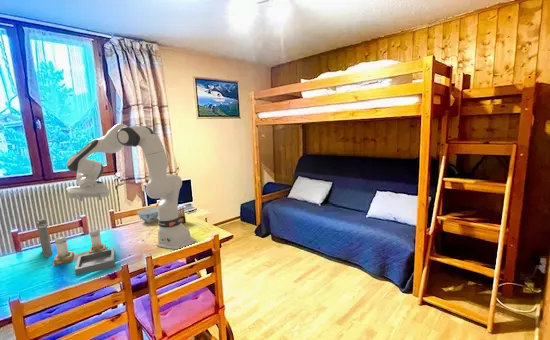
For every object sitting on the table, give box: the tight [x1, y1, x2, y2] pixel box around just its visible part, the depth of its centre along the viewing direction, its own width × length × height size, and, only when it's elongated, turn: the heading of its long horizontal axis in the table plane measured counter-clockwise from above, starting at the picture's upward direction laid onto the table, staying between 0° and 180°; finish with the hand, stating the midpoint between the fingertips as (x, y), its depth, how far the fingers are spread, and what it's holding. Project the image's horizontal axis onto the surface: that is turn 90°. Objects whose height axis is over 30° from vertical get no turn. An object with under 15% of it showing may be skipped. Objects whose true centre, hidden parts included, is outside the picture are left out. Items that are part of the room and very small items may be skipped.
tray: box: [74, 248, 116, 275], centre depth 142 cm, size 16×16×4 cm
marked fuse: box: [89, 229, 103, 251], centre depth 153 cm, size 5×5×12 cm
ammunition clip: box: [178, 206, 187, 224], centre depth 194 cm, size 11×2×12 cm, turn 122°
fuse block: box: [51, 243, 109, 267], centre depth 151 cm, size 24×10×4 cm, turn 119°
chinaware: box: [137, 207, 159, 223], centre depth 204 cm, size 15×15×8 cm
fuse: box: [54, 236, 70, 258], centre depth 146 cm, size 5×5×12 cm
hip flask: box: [36, 218, 53, 258], centre depth 157 cm, size 16×4×20 cm, turn 44°
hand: (90, 199), depth 158 cm, fingers open, 8 cm apart
